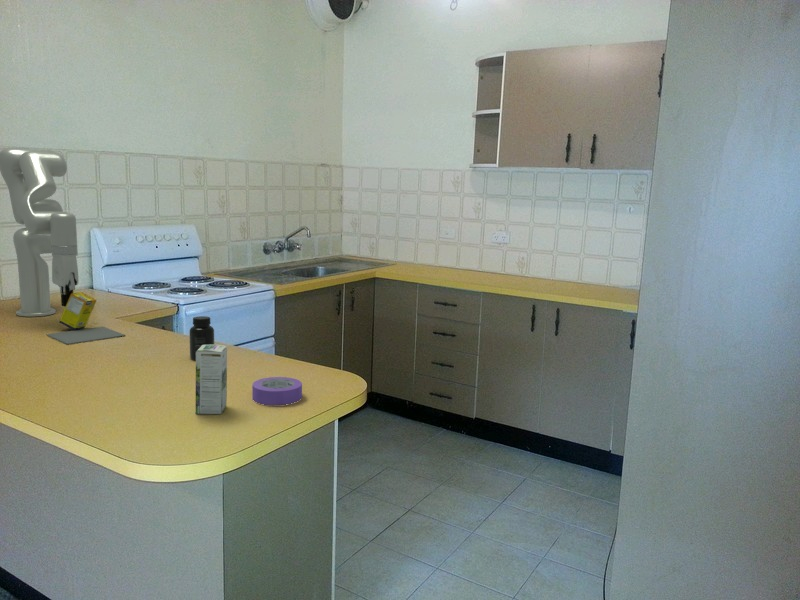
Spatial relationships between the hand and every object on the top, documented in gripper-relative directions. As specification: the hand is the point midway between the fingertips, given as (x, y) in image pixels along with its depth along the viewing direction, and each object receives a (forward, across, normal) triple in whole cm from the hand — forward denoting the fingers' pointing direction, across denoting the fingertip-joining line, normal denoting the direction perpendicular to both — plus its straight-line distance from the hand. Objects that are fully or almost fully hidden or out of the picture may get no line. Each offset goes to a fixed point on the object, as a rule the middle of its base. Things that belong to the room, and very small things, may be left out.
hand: (67, 305), depth 208 cm
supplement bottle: (+8, +60, +13) cm, 62 cm away
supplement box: (+7, +2, 0) cm, 7 cm away
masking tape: (+9, +102, +7) cm, 102 cm away
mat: (+8, +13, 0) cm, 15 cm away
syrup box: (+9, +99, -9) cm, 100 cm away
